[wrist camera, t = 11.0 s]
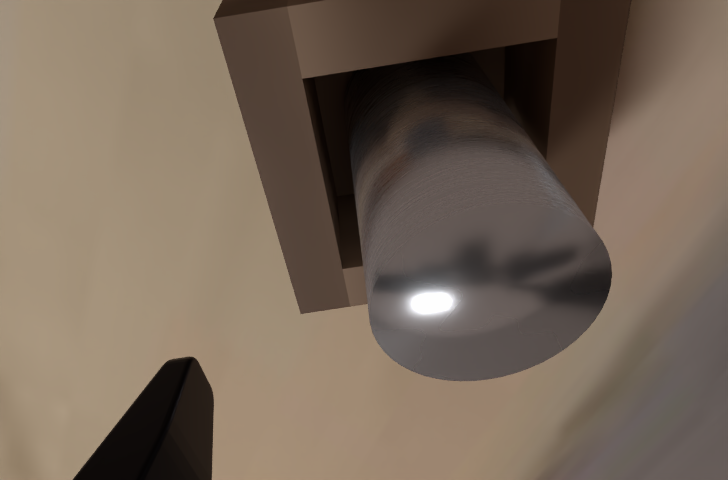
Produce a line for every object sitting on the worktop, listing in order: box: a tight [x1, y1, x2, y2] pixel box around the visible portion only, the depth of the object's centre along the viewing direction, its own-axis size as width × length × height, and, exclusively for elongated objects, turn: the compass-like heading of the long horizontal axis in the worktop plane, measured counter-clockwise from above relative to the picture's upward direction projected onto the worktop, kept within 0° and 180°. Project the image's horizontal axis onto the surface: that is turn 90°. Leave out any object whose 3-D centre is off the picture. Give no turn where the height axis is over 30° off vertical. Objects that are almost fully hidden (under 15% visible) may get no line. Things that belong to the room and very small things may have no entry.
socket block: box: [213, 0, 631, 314], centre depth 14 cm, size 8×8×4 cm
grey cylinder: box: [344, 52, 612, 381], centre depth 12 cm, size 4×4×8 cm
